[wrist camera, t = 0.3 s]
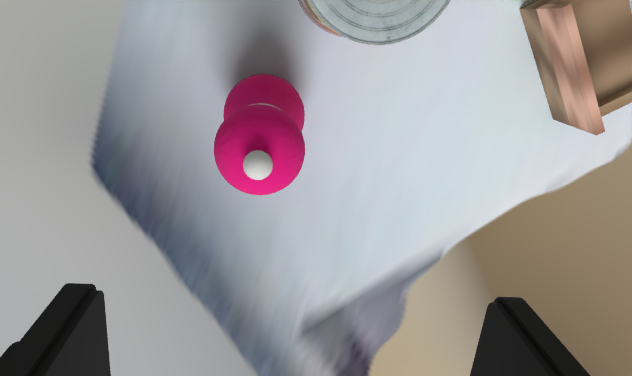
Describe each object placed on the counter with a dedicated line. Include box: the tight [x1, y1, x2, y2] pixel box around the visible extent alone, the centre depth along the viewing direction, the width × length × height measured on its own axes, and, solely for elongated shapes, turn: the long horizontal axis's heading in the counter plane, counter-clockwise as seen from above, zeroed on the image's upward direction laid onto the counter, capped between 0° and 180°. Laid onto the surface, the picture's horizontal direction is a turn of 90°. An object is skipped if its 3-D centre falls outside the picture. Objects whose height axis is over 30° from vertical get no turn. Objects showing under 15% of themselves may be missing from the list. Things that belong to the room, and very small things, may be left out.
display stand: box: [520, 0, 632, 135], centre depth 42 cm, size 12×8×7 cm, turn 27°
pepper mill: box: [214, 74, 305, 195], centre depth 36 cm, size 7×7×20 cm
